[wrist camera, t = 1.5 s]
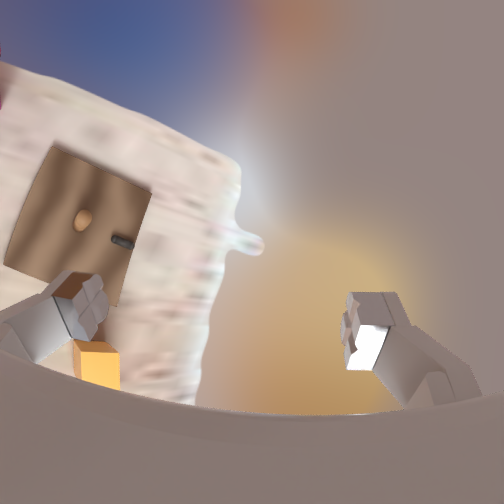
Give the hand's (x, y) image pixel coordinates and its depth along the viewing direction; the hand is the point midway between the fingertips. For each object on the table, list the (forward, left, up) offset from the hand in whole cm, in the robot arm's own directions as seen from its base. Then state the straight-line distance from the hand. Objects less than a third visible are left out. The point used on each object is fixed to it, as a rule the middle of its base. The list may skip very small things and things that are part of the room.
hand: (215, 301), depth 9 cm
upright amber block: (+4, -9, -37) cm, 38 cm away
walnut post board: (-3, +8, -37) cm, 38 cm away
